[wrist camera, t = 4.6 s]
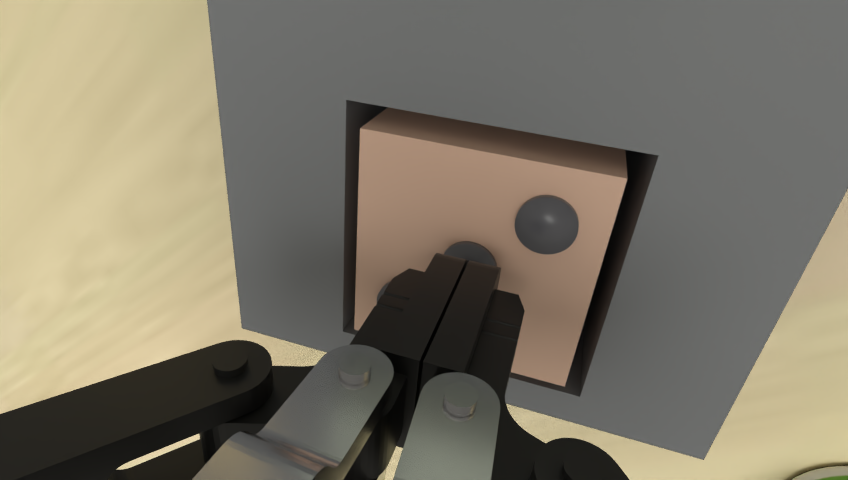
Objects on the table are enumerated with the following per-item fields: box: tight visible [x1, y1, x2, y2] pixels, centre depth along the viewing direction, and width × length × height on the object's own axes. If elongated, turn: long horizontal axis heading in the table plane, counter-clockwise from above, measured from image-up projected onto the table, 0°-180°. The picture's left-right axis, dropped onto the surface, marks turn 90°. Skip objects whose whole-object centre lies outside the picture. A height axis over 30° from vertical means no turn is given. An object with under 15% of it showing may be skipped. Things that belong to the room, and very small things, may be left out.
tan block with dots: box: [354, 107, 628, 387], centre depth 15 cm, size 6×6×4 cm
